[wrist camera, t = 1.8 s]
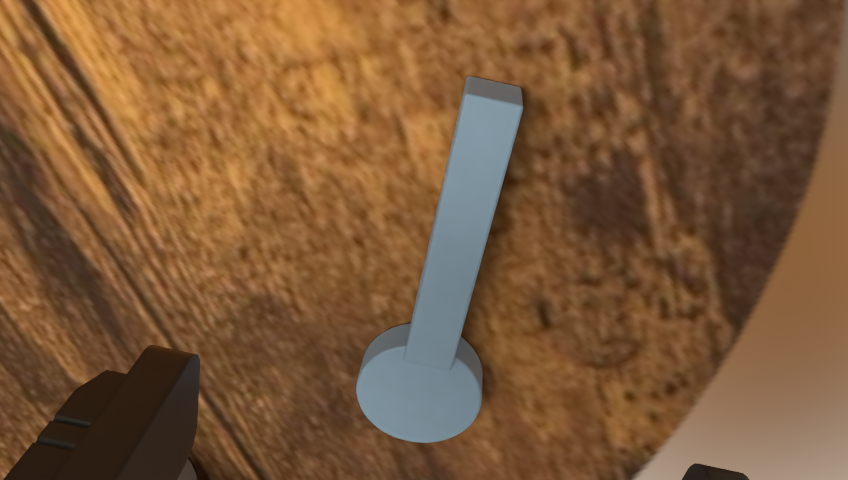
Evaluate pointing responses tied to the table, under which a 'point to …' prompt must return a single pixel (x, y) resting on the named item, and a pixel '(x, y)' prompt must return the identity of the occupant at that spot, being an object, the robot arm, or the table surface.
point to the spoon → (446, 284)
